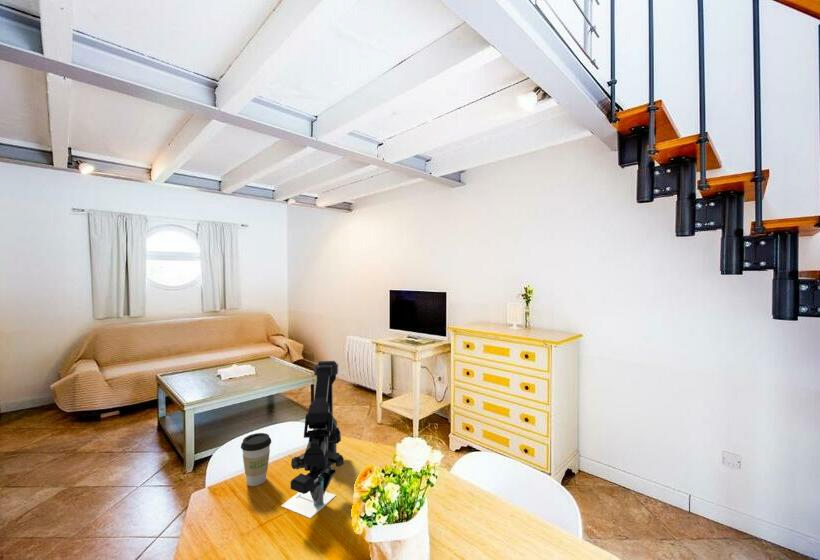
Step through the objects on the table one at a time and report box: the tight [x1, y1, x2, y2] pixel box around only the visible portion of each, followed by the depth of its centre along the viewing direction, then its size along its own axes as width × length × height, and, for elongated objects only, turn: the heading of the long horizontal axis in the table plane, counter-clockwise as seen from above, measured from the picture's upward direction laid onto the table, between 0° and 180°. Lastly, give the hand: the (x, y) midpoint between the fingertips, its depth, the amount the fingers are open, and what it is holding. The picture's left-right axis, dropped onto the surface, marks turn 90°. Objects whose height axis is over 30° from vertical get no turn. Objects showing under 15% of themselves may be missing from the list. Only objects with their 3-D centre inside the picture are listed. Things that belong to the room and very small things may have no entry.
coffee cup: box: [240, 432, 272, 487], centre depth 125 cm, size 10×10×15 cm
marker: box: [314, 476, 324, 507], centre depth 112 cm, size 3×3×8 cm
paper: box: [280, 490, 337, 519], centre depth 114 cm, size 12×12×1 cm
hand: (318, 497), depth 112 cm, fingers closed on marker, 3 cm apart
